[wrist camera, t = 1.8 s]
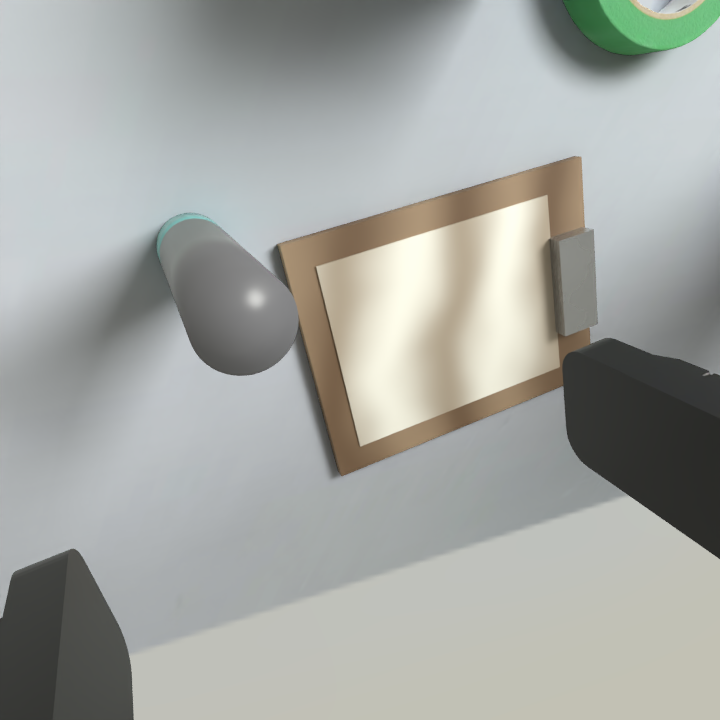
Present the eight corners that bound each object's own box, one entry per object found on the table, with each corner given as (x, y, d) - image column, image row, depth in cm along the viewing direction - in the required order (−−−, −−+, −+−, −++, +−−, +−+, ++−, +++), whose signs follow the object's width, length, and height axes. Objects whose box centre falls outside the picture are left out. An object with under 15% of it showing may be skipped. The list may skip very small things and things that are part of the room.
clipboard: (574, 156, 35) (593, 157, 33) (585, 370, 40) (602, 379, 39) (277, 244, 30) (285, 249, 29) (338, 471, 36) (347, 484, 35)
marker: (214, 205, 28) (282, 254, 17) (233, 269, 30) (309, 355, 18) (146, 223, 28) (170, 287, 16) (169, 289, 29) (207, 390, 18)
